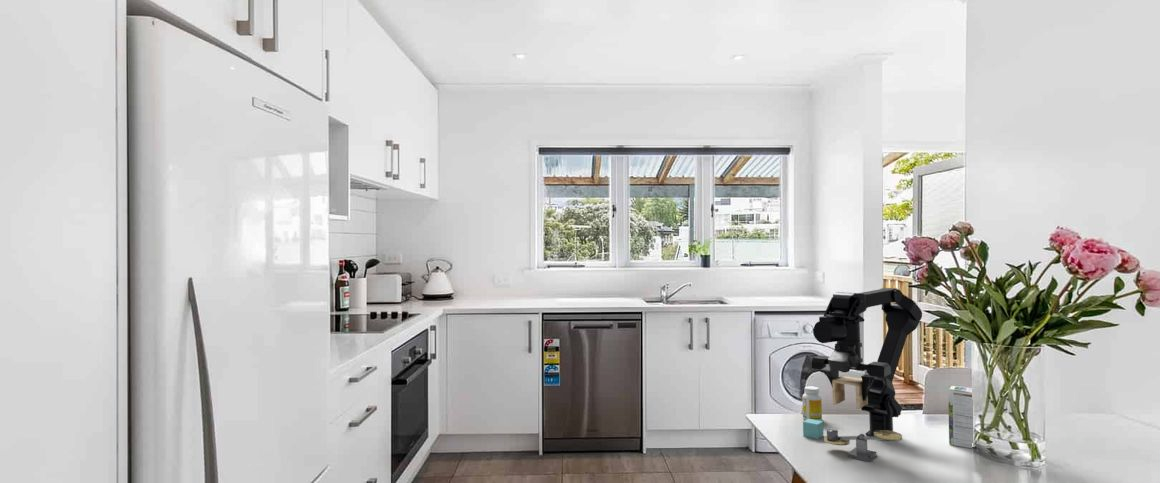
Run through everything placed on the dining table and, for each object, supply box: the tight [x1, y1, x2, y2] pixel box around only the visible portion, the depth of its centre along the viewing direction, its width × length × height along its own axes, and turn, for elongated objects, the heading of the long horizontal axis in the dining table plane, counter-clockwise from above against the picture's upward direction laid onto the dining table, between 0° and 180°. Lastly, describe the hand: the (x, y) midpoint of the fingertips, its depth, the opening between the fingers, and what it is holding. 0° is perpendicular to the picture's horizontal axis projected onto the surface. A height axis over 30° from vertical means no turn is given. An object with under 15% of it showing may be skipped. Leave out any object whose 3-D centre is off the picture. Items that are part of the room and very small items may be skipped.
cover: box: [831, 375, 868, 410], centre depth 148 cm, size 6×6×6 cm
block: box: [802, 419, 824, 440], centre depth 154 cm, size 4×4×4 cm
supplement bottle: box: [801, 385, 823, 421], centre depth 169 cm, size 5×5×10 cm
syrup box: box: [947, 385, 973, 449], centre depth 145 cm, size 6×6×14 cm
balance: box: [823, 428, 903, 463], centre depth 138 cm, size 6×18×7 cm, turn 46°
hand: (850, 398), depth 148 cm, fingers closed on cover, 6 cm apart
